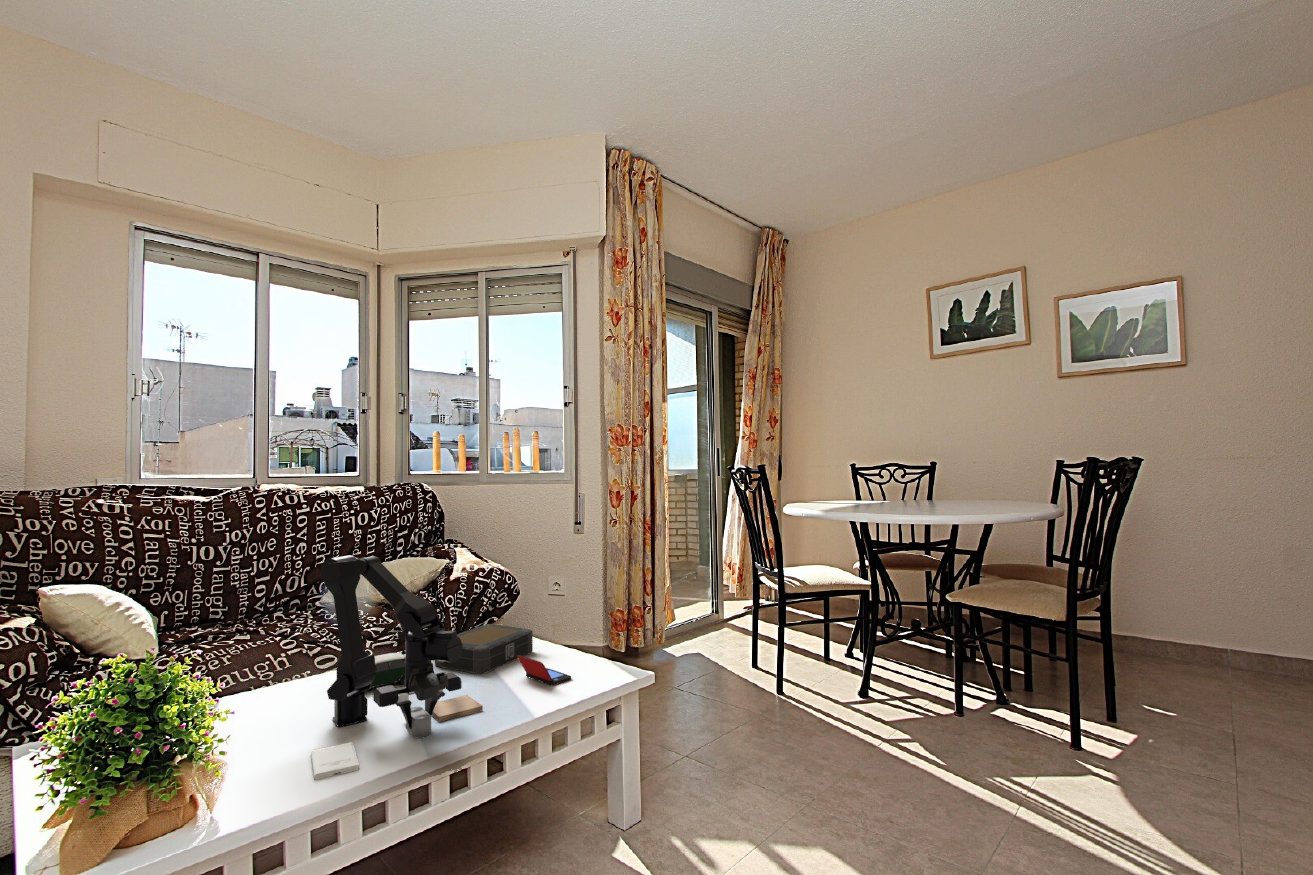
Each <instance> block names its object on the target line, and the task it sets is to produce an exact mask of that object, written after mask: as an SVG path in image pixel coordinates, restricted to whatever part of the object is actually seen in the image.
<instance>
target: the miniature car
mask: <svg viewBox="0 0 1313 875" xmlns="http://www.w3.org/2000/svg"><path fill="white" fill-rule="evenodd" d="M374 657H375V665H376V668H377V671H375V672H376V676H375V679H374V680H373V682H372V684H371V688H375V687H376V688H377V687H380V686H381V687H382V686H383V685H385V686H386V685H390V684H394V683H397V682H400V684H401V685H404V686H405V684H404V680H405V666H404V662H405V654H403V653H399V652H389V653H384V654H379V655H374ZM371 688H370V689H371ZM364 692H365V693H366V691H364Z"/></svg>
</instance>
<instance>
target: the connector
mask: <svg viewBox="0 0 1313 875" xmlns="http://www.w3.org/2000/svg"><path fill="white" fill-rule="evenodd" d="M411 718H412V728H411V729H409V728H408V725H407V723H406V722H405V723H406V724H405V726H406V727H405V728H406V729H407V731H408V732H409V733H411V735H412V736H414V737H415V738H417V739H426V738H428V737H429V736H431V735H432V716H431V715H430V714H429V713H428V712H427V711H425V708H423V707H421V706H411Z"/></svg>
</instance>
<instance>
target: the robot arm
mask: <svg viewBox="0 0 1313 875" xmlns="http://www.w3.org/2000/svg"><path fill="white" fill-rule="evenodd" d="M320 570H321V578H322V581H323V583H324V586H325V588H327V590H328V591H329V592H330V593H331V595H332V598H333V603H334V609H335V617H336V624H337V631H338V637H339V638H338V639H339V644H340V653H341V655H340V658H339V661H338V664H337V666H336V680H335V681H334V682H333V683H332V684H331V685H330V686H329V687H328V689H327V690H326V694H327V696H328V700H331V701H334V706H333V707H334V712H333V713H334V716H333V717H332V720H333V723H335V725H336V726H337V727H338V728H339V727H340V728H341V727H345V726H349V725H353V724H358V723H361V722H366V721H368V717H367V715H368V698H367V697H366V691H369V690H371V684H372V682H373V680H374V679H375V676H376V672H375V671H377V668H376V665H375V657H374V656H375V655H374V654H370V655H369V653H368V652H367V651H366V650H365V648H364V640H363V635H362V627H361V621H360V614H359V607H358V599H357V587H358V585H359V583H360V579H361V576H362V577H364V579H365V581H367V582H369V584H370V585H371V586H372V587H373V588H374V589H375V590H376V591H377V592H378V593H379V594H380V595H381V597H383V599H384V600H386V601H387V602H388V604H390V606H391V607H392V608H393V610H394V611H393V612H394V616H395V618H396V620H397V622H398V623H399V624H400V626H401V627H402V629H403V630H402V631H401V632H400V633H399V634H398V635H397V636H396V637H397V639H398V640H404V641H405V649H404V650H405V654H404V656H405V662H404V666H405V680H404V684H405V685H404V684H403V685H404V687H399V688H398V687H397V688H395V687H394V686H393V685H392V684H391V685H390V684H388V685H385V686H381V687H380V686H379V687H376V688H375V689H374V691H373V693H372V694H373V695H372V696H373V698H372V699H373V702H374V703H375V704H376V705H377V707H380V708H384V707H385V708H386V707H390V706H394V705H395V706H396V707H399V708H400V710H401V713H402V715H403V717H404V720H405V723H407V725H408V728H409V729H411V728H412V718H411V707H412V703H413V702H412V701H411V700H410V699H409V698H410V697H409V696H411V695H415V696H416V699H417V700H418V701H421V702H423V701H424V710H425V711H427V712H428V713H429V714H430V715H431V717H433V716H432V713H433V710H434V707H435V705H436V703H437V702H439V700H440V698H442V697H444V696H446V693H445V692H444V690H447V691H448V692H454V691H458V690H461V689H463V688H462V686H463V685H462V683H463V682H462V678H461V677H460V676H458V675H457V674H456V673H454V672H451V671H450V672H446V671H442V672H435V669H434V664H433V662H435V661H442V662H452V663H453V662H456V661H457V660H458V659H459V658H460V656H461V653H462V649H463V644H462V642H461V639H460V638H459V637H457V634H458V633H457V630H446V627H445V625H444V623H443V622H442V621H441V618H440V616H439V615H438V614H437V612H436V607H435V606H434V604H433V603H431V602H430V601H428V600H427V599H426V598H424V597H423V596H420V595H417V594H414V593H413V592H411V591H410V590H409V589H408V588H406V586H405V585H403V583H402V582H401V581H400V580H399V579H398V578H397V577H396V576H395V575H394V574H393V573H392V572H391V571H390V570H389V569H388V567H386V566H385V565H384V564H383V563H382V561H381V559H380V558H379V557H378V556H374V555H373V556H368V557H367V556H366V557H358V558H356V556H354V555H350V554H349V555H344V556H339V557H332V558H329V559H327V560H325V561H324V563H323V565H321V569H320ZM432 661H433V662H432ZM364 691H365V692H364Z"/></svg>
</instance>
